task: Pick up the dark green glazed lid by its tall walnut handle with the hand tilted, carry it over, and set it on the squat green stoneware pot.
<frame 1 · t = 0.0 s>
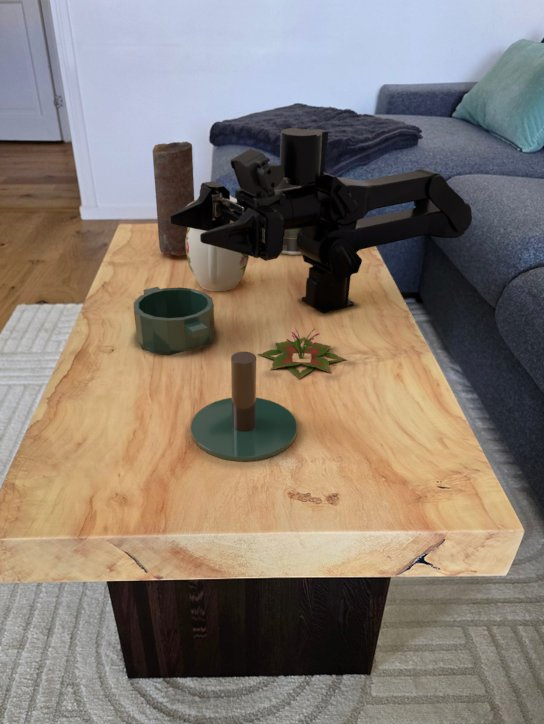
hand: (185, 228, 85), 17 cm above the table, tool horizontal, fingers open, 9 cm apart
lid: (243, 428, 75), point 1 cm above the table
pot: (176, 337, 96), on the table
lily flower: (301, 362, 90), on the table
candle: (178, 255, 125), on the table
coffee can: (294, 247, 128), on the table
pitcher: (218, 287, 112), on the table
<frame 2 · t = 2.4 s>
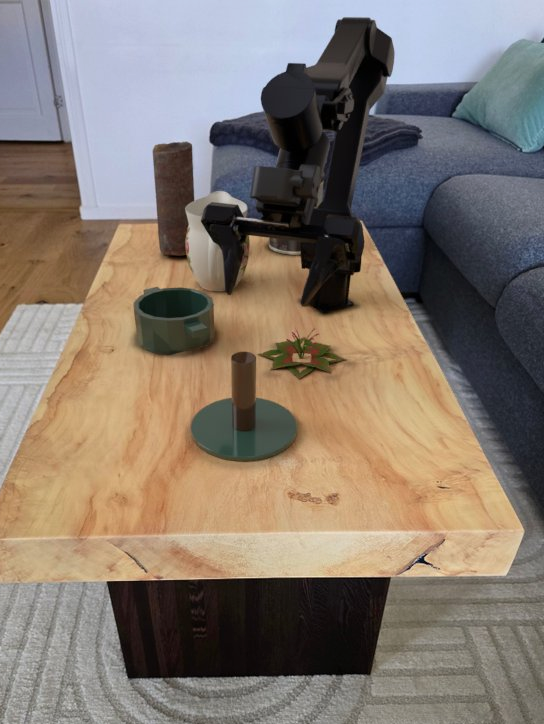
hand: (264, 299, 73), 14 cm above the table, tool tilted 45°, fingers open, 9 cm apart
nothing on the table moved.
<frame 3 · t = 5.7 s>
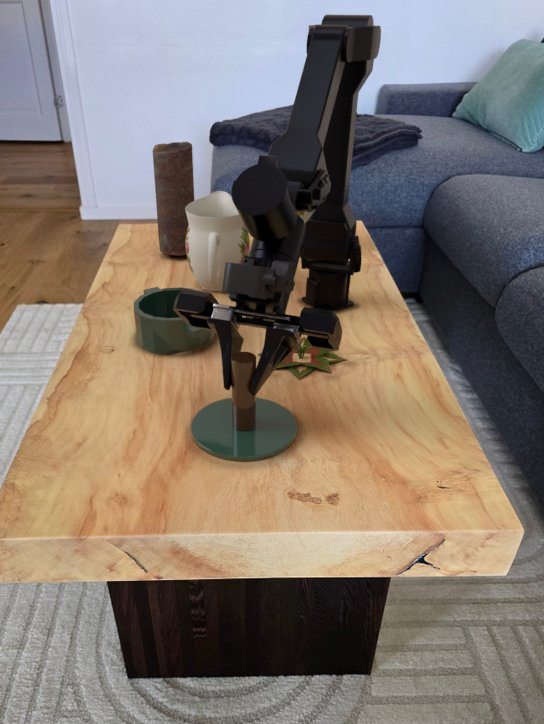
hand: (239, 391, 71), 7 cm above the table, tool tilted 45°, fingers closed on lid, 3 cm apart
lid: (243, 428, 75), point 1 cm above the table, touching gripper
everything else where it was.
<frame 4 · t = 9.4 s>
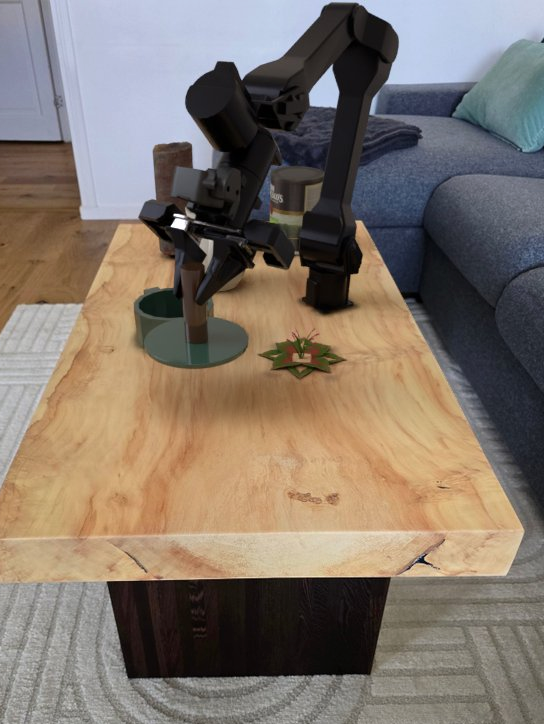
hand: (186, 301, 73), 14 cm above the table, tool tilted 45°, fingers closed on lid, 3 cm apart
lid: (197, 343, 77), point 8 cm above the table, touching gripper
everything else where it was.
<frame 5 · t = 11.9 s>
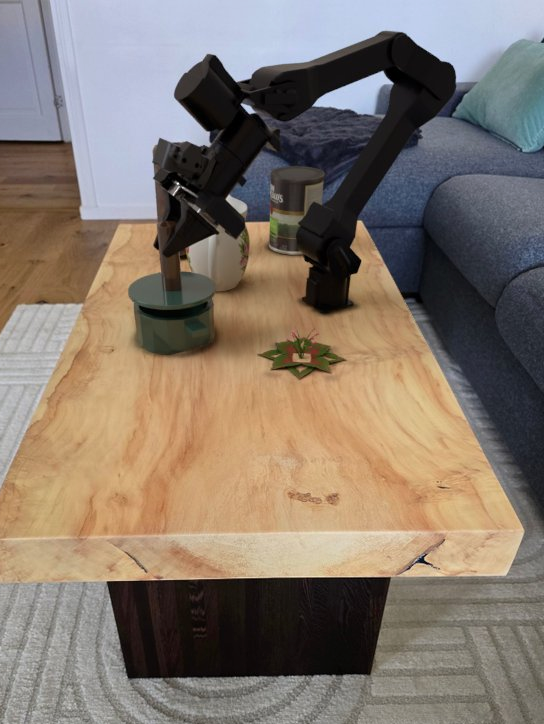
hand: (159, 252, 87), 13 cm above the table, tool tilted 45°, fingers closed on lid, 3 cm apart
lid: (172, 291, 91), point 8 cm above the table, touching gripper
everything else where it was.
when the fingers open (11 cm above the table, at t = 13.4 s): lid stays where it is, resting on pot.
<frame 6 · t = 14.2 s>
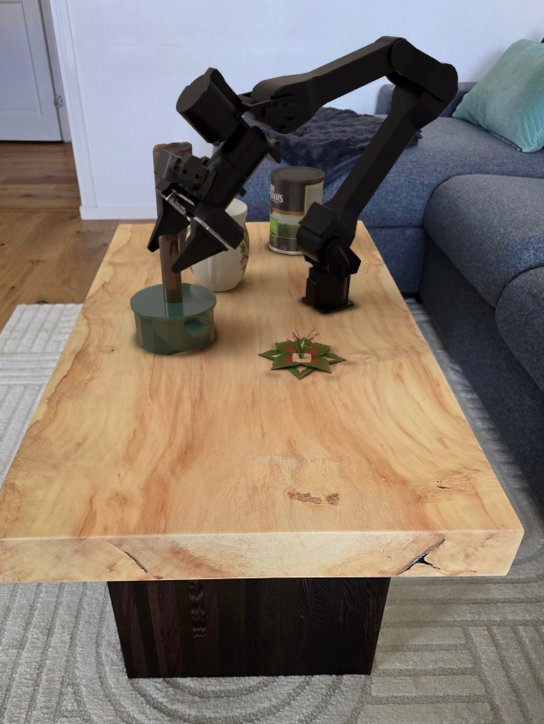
hand: (160, 260, 88), 12 cm above the table, tool tilted 45°, fingers open, 9 cm apart
lid: (173, 303, 93), point 5 cm above the table, touching pot
everything else where it was.
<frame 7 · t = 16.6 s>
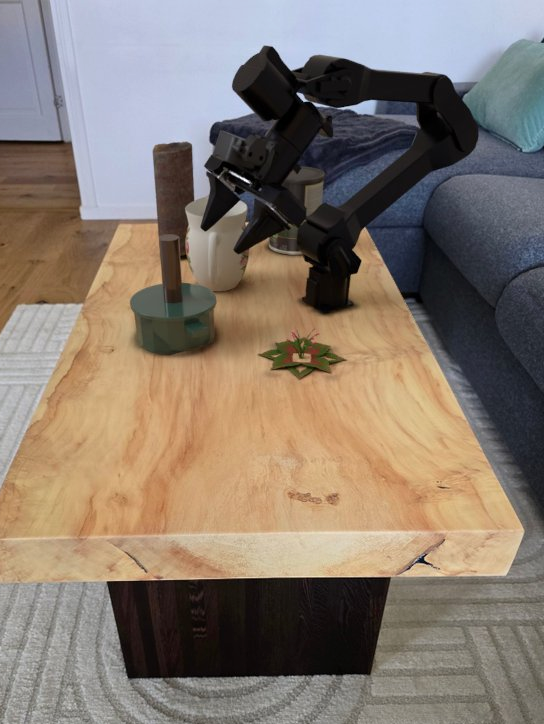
hand: (218, 240, 90), 14 cm above the table, tool tilted 40°, fingers open, 9 cm apart
nothing on the table moved.
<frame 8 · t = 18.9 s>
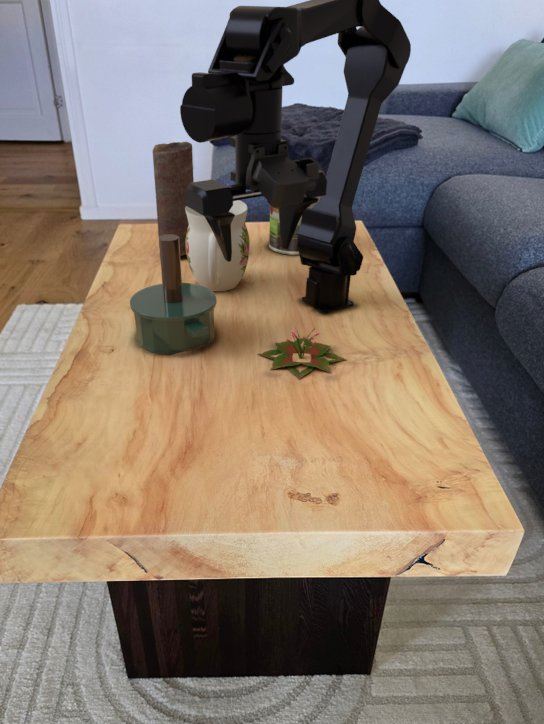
hand: (257, 254, 87), 13 cm above the table, tool pointing down, fingers open, 9 cm apart
nothing on the table moved.
at the end: lid 0.0 cm off-centre on the pot, point 5.5 cm above the pot's base; lid tilted 0°; the gripper is holding nothing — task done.
